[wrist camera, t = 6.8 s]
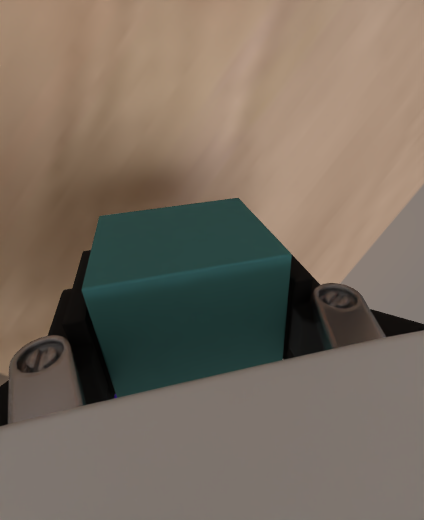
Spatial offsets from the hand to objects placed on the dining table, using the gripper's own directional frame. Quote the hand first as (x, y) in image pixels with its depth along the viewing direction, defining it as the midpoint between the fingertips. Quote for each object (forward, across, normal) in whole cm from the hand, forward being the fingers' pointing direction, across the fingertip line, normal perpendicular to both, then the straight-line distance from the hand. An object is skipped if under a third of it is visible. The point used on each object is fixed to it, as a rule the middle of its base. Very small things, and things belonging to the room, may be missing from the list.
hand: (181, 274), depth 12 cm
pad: (+1, 0, 0) cm, 1 cm away
